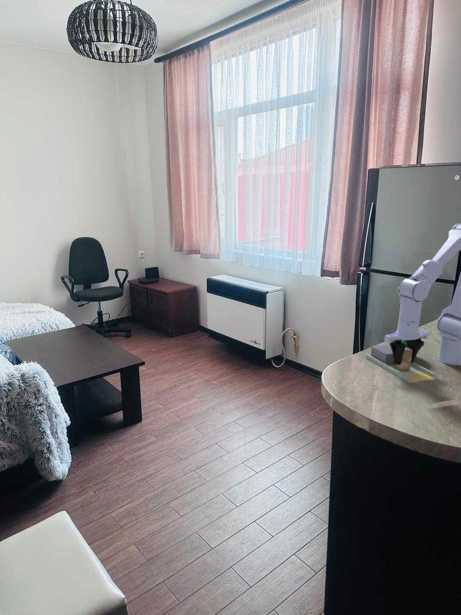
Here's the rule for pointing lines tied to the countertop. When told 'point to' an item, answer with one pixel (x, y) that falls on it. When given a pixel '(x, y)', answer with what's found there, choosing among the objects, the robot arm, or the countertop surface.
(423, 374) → the runway
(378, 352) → the slab
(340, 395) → the countertop surface
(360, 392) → the countertop surface
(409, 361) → the roller pin
